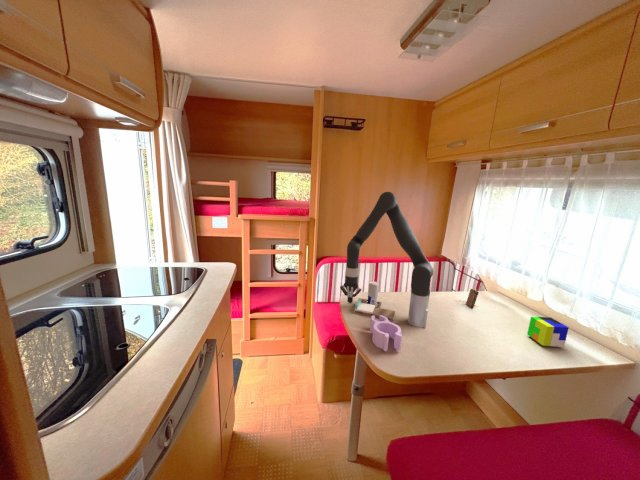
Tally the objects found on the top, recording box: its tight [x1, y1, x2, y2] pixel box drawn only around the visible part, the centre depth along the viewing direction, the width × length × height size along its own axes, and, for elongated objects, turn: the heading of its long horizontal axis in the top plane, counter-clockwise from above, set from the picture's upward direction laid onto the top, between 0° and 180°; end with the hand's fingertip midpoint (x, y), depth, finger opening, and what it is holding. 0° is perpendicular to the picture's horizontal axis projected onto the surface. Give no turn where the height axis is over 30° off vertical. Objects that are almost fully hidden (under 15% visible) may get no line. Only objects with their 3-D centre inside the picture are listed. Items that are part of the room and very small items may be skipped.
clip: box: [369, 315, 403, 352], centre depth 125 cm, size 20×12×7 cm, turn 10°
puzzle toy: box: [526, 316, 570, 348], centre depth 130 cm, size 10×10×10 cm
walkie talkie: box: [458, 282, 484, 309], centre depth 165 cm, size 13×13×18 cm
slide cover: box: [354, 297, 375, 314], centre depth 152 cm, size 10×10×4 cm
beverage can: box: [366, 281, 379, 307], centre depth 159 cm, size 6×6×15 cm
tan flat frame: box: [353, 298, 396, 322], centre depth 155 cm, size 22×19×2 cm
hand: (349, 302), depth 156 cm, fingers closed
